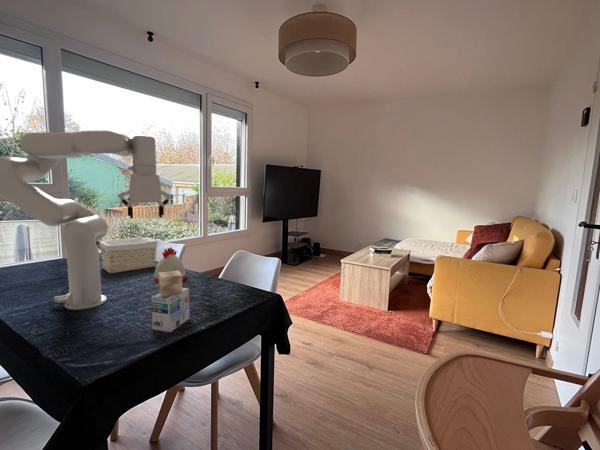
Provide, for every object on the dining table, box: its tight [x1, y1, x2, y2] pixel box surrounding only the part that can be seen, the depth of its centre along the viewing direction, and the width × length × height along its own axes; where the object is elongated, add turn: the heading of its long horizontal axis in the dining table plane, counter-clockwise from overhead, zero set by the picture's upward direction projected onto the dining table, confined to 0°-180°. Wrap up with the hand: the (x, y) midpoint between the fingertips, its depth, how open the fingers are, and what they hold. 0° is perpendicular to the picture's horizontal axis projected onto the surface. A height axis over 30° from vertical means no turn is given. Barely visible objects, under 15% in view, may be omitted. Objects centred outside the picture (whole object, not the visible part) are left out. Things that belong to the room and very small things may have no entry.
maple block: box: [158, 270, 183, 297], centre depth 96 cm, size 6×6×6 cm
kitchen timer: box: [153, 247, 187, 283], centre depth 143 cm, size 14×14×15 cm
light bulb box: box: [151, 287, 190, 333], centre depth 97 cm, size 11×7×11 cm, turn 168°
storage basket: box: [99, 236, 158, 274], centre depth 158 cm, size 24×16×15 cm
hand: (146, 217), depth 111 cm, fingers open, 9 cm apart
